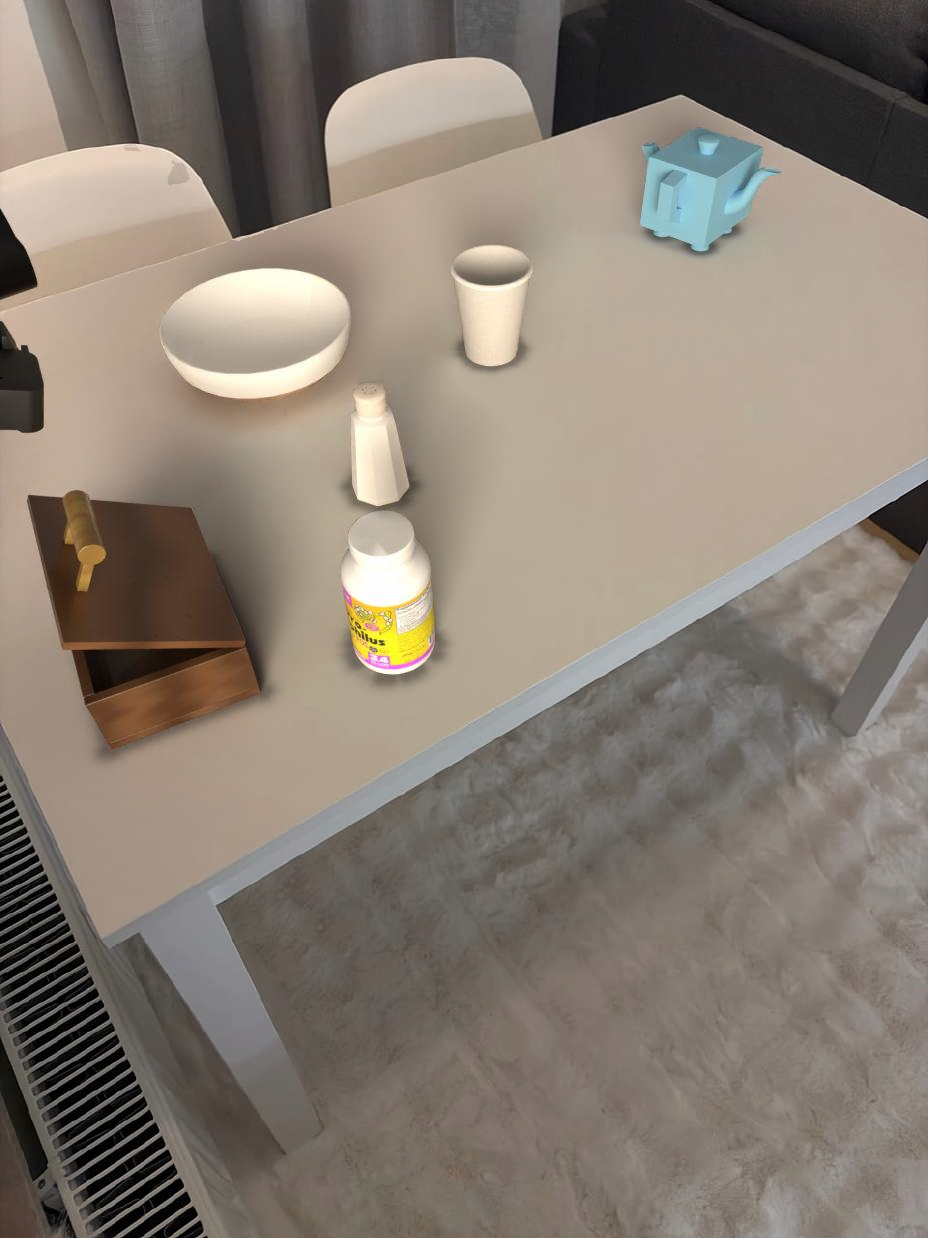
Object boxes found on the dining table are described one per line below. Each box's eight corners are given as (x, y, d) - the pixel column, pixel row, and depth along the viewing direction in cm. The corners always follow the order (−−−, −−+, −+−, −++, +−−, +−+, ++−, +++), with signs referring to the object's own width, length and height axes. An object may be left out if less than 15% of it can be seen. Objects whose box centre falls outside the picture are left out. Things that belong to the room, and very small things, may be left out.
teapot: (669, 188, 122) (682, 98, 114) (791, 230, 115) (816, 136, 106) (599, 235, 115) (609, 141, 106) (725, 283, 107) (746, 187, 98)
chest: (111, 749, 68) (85, 705, 64) (74, 606, 77) (49, 559, 73) (261, 693, 71) (245, 647, 67) (208, 561, 80) (192, 513, 76)
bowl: (135, 390, 96) (117, 339, 92) (252, 300, 107) (241, 250, 102) (283, 448, 90) (272, 397, 85) (392, 347, 100) (387, 296, 96)
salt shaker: (348, 506, 84) (332, 409, 76) (356, 467, 88) (341, 370, 79) (406, 507, 84) (397, 410, 76) (412, 468, 87) (404, 371, 79)
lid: (61, 650, 59) (75, 593, 56) (26, 501, 68) (36, 446, 65) (243, 647, 67) (263, 597, 64) (189, 513, 76) (205, 464, 73)
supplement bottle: (338, 639, 74) (315, 526, 64) (405, 601, 77) (392, 486, 67) (384, 692, 71) (367, 582, 61) (452, 650, 73) (447, 537, 63)
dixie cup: (525, 376, 96) (528, 289, 89) (447, 370, 97) (443, 284, 90) (533, 331, 102) (537, 246, 94) (459, 326, 103) (457, 241, 95)
